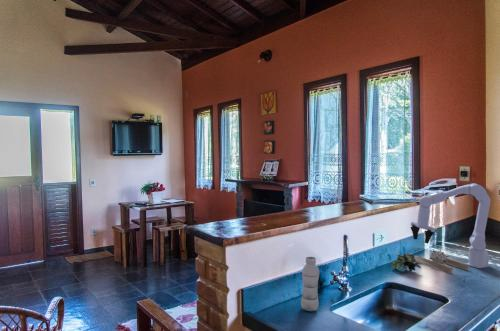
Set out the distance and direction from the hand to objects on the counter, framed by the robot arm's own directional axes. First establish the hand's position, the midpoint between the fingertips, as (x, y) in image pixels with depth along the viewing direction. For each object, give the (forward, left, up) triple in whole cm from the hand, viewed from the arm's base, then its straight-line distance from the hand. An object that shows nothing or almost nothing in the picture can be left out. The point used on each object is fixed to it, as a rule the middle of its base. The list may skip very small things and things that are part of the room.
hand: (420, 241), depth 207 cm
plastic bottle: (+95, +30, -11) cm, 101 cm away
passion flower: (+25, +12, -11) cm, 30 cm away
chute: (-1, +12, -10) cm, 16 cm away
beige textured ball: (-1, +11, -11) cm, 15 cm away
